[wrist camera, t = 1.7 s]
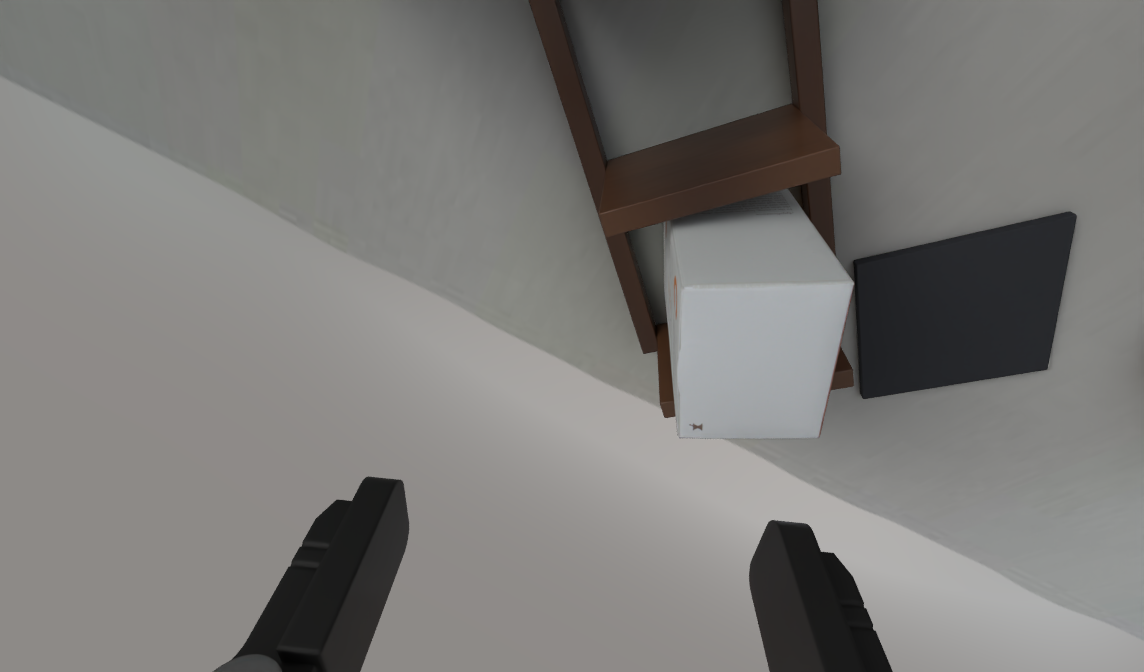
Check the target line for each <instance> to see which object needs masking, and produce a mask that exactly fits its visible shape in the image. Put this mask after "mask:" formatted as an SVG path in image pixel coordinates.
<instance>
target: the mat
mask: <svg viewBox="0 0 1144 672" xmlns="http://www.w3.org/2000/svg"><path fill="white" fill-rule="evenodd" d="M1076 217H1077V216H1076V215H1075V214H1074V213H1072V212H1065V213H1061V214H1057V215H1052V216H1048V217H1043V218H1039V219H1035V220H1030V221H1026V222H1021V223H1017V224H1013V225H1008V226H1004V227H999V228H995V229H991V230H986V231H982V232H977V233H973V234H969V235H964V236H960V237H955V238H951V239H946V240H942V241H938V242H933V243H929V244H924V245H920V246H916V247H911V248H907V249H902V250H898V251H894V252H889V253H885V254H880V255H876V256H872V257H867V258H863V259H858V260H854V278H855V297H856V317H857V336H858V355H859V375H860V394H861V396H862V398H863V399H868V398H874V397H880V396H886V395H893V394H899V393H905V392H911V391H917V390H924V389H930V388H936V387H942V386H948V385H954V384H961V383H967V382H973V381H979V380H985V379H992V378H998V377H1004V376H1010V375H1016V374H1023V373H1029V372H1035V371H1041V370H1047V369H1048V364H1049V358H1050V353H1051V348H1052V343H1053V337H1054V332H1055V327H1056V322H1057V316H1058V311H1059V306H1060V301H1061V296H1062V290H1063V285H1064V280H1065V275H1066V269H1067V264H1068V259H1069V254H1070V249H1071V243H1072V238H1073V233H1074V228H1075V222H1076Z"/></svg>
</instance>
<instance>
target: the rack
mask: <svg viewBox="0 0 1144 672" xmlns="http://www.w3.org/2000/svg"><path fill="white" fill-rule="evenodd" d="M529 3H530V6H531V9H532V12H533V15H534V18H535V21H536V25H537V28H538V31H539V34H540V37H541V40H542V43H543V46H544V49H545V52H546V55H547V58H548V62H549V65H550V68H551V71H552V74H553V77H554V80H555V83H556V86H557V89H558V92H559V95H560V99H561V102H562V105H563V108H564V111H565V114H566V117H567V120H568V123H569V126H570V129H571V132H572V136H573V139H574V142H575V145H576V148H577V151H578V154H579V157H580V160H581V163H582V166H583V169H584V173H585V176H586V179H587V182H588V185H589V188H590V191H591V194H592V197H593V200H594V203H595V206H596V210H597V213H598V216H599V219H600V222H601V225H602V228H603V231H604V234H605V237H606V240H607V243H608V247H609V250H610V253H611V256H612V259H613V262H614V265H615V268H616V271H617V274H618V277H619V280H620V284H621V287H622V290H623V293H624V296H625V299H626V302H627V305H628V308H629V311H630V314H631V317H632V321H633V324H634V327H635V330H636V333H637V336H638V339H639V342H640V345H641V348H642V351H643V354H646V353H651V352H656V351H657V353H658V374H659V395H660V405H661V409H662V412H663V415H664V417H665V418H669V417H675V404H674V393H673V382H672V370H671V356H670V343H669V331H668V322H667V323H662V324H657V325H656V324H655V320H654V317H653V313H652V310H651V307H650V303H649V300H648V297H647V293H646V290H645V287H644V283H643V280H642V276H641V273H640V270H639V266H638V263H637V260H636V256H635V253H634V250H633V246H632V243H631V239H630V236H629V233H628V231H632V230H635V229H639V228H643V227H647V226H650V225H654V224H658V223H661V222H665V221H669V220H673V219H676V218H680V217H684V216H687V215H691V214H695V213H699V212H702V211H706V210H710V209H713V208H717V207H721V206H725V205H728V204H732V203H736V202H739V201H743V200H747V199H751V198H754V197H758V196H762V195H765V194H769V193H773V192H777V191H780V190H784V189H788V188H791V187H795V186H799V185H801V190H802V200H803V210H804V212H805V214H806V215H807V217H808V218H809V220H810V221H811V222H812V224H813V225H814V226H815V228H816V229H817V231H818V232H819V234H820V235H821V236H822V238H823V239H824V241H825V242H826V243H827V245H828V246H829V248H830V249H831V251H832V252H833V253H834V255H835V256H836V253H835V239H834V225H833V211H832V197H831V183H830V177H832V176H836V175H840V174H841V161H840V147H839V145H838V144H836V143H835V142H834V141H833V140H832V139H831V138H830V137H829V136H827V127H826V113H825V99H824V85H823V71H822V57H821V43H820V29H819V15H818V1H817V0H782V5H783V15H784V25H785V35H786V44H787V54H788V64H789V74H790V83H791V93H792V103H793V104H788V105H785V106H782V107H779V108H776V109H772V110H769V111H766V112H763V113H759V114H756V115H753V116H750V117H746V118H743V119H740V120H737V121H734V122H730V123H727V124H724V125H721V126H717V127H714V128H711V129H708V130H705V131H701V132H698V133H695V134H692V135H688V136H685V137H682V138H679V139H675V140H672V141H669V142H666V143H663V144H659V145H656V146H653V147H650V148H646V149H643V150H640V151H637V152H633V153H630V154H627V155H624V156H621V157H617V158H614V159H611V160H608V161H607V159H606V155H605V152H604V149H603V145H602V142H601V139H600V135H599V132H598V129H597V125H596V122H595V118H594V115H593V112H592V108H591V105H590V102H589V98H588V95H587V92H586V88H585V85H584V81H583V78H582V75H581V71H580V68H579V65H578V61H577V58H576V55H575V51H574V48H573V44H572V41H571V38H570V34H569V31H568V28H567V24H566V21H565V18H564V14H563V11H562V7H561V4H560V1H559V0H529ZM853 386H854V379H853V369H852V367H851V365H850V363H849V361H848V359H847V357H846V356H845V354H844V352H843V350H842V348H841V346H840V351H839V355H838V358H837V363H836V368H835V372H834V376H833V381H832V386H831V390H835V389H841V388H847V387H853Z"/></svg>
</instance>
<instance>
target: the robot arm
mask: <svg viewBox="0 0 1144 672" xmlns="http://www.w3.org/2000/svg"><path fill="white" fill-rule="evenodd" d="M408 534H409V519H408V513H407V505H406V498H405V491H404V484H403V482H402V481H401V480H396V479H386V478H375V477H366V478H365V479H364V480H363V481H362V483H361V485H360V486H359V489H358V490H357V493H356V494H355V496H354V498H353V500H352V501H345V500H336V501H335V502H334V503H333V504H331V505H330V506H329V507H328V508H327V509H326V510H325V511H324V512H323V513H322V514H321V515H319V516H318V517H317V518H316V519H315V521H314V523H313V525H312V526H311V528H310V530H309V532H308V534H307V535H306V537H305V539H304V540H303V544H302V547H300V548H299V549H298V551H297V553H296V555H295V557H294V558H293V560H292V564H291V566H290V567H288V569H287V571H286V572H285V574H284V576H283V578H282V579H281V581H280V583H279V585H278V586H277V588H276V590H275V592H274V594H273V595H272V597H271V599H270V601H269V602H268V604H267V606H266V608H265V610H264V611H263V613H262V615H261V616H260V618H259V620H258V622H257V624H256V625H255V627H254V629H253V631H252V632H251V634H250V636H249V638H248V639H247V641H246V643H245V644H244V646H243V647H242V648H241V650H240V651H239V652H238V654H237V655H236V656H235V657H234V658H233V659H232V660H230V661H229V662H227V663H225V664H223V665H222V666H220V667H219V668H217V669H216V670H214V671H213V672H360V671H361V668H362V665H363V663H364V660H365V657H366V654H367V652H368V649H369V646H370V644H371V641H372V638H373V636H374V633H375V630H376V627H377V625H378V622H379V619H380V617H381V614H382V611H383V609H384V606H385V603H386V601H387V598H388V595H389V593H390V590H391V587H392V584H393V582H394V579H395V576H396V574H397V571H398V568H399V566H400V563H401V560H402V558H403V555H404V552H405V549H406V545H407V540H408ZM749 582H750V590H751V594H752V599H753V603H754V607H755V611H756V616H757V619H758V624H759V628H760V633H761V637H762V641H763V645H764V649H765V654H766V657H767V662H768V666H769V671H770V672H892V669H891V667H890V664H889V662H888V659H887V657H886V655H885V653H884V650H883V648H882V645H881V643H880V640H879V638H878V636H877V633H876V631H874V630H873V624H872V621H871V619H870V617H869V614H868V612H867V609H866V608H864V602H863V600H862V597H861V595H860V593H859V590H858V588H857V586H856V583H855V581H854V578H853V576H852V575H851V574H850V573H849V571H848V570H847V569H846V568H845V566H844V565H843V564H842V563H841V562H840V561H839V559H838V558H837V557H836V555H835V554H834V553H828V552H821V551H820V548H819V546H818V543H817V540H816V538H815V535H814V533H813V531H812V529H811V527H810V526H809V525H808V524H804V523H794V522H785V521H775V520H772V521H770V522H769V523H768V524H767V526H766V529H765V531H764V533H763V536H762V538H761V540H760V543H759V545H758V547H757V549H756V551H755V554H754V556H753V558H752V561H751V564H750V572H749Z"/></svg>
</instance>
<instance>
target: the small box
mask: <svg viewBox="0 0 1144 672" xmlns="http://www.w3.org/2000/svg"><path fill="white" fill-rule="evenodd" d="M854 285H855V283H854V282H853V280H852V279H851V278H850V276H849V275H848V273H847V272H846V270H845V269H844V268H843V266H842V265H841V263H840V262H839V261H838V259H837V258H836V256H835V255H834V253H833V252H832V251H831V249H830V248H829V246H828V245H827V243H826V242H825V241H824V239H823V238H822V236H821V235H820V234H819V232H818V231H817V229H816V228H815V226H814V225H813V224H812V222H811V221H810V220H809V218H808V217H807V215H806V214H805V212H804V211H803V210H802V208H801V207H800V205H799V204H798V203H797V201H796V200H795V198H794V197H793V195H792V194H791V193H790V191H789V190H788V189H784V190H780V191H777V192H773V193H769V194H765V195H762V196H758V197H754V198H751V199H747V200H743V201H739V202H736V203H732V204H728V205H725V206H721V207H717V208H713V209H710V210H706V211H702V212H699V213H695V214H691V215H687V216H684V217H680V218H676V219H673V220H669V221H665V222H664V293H665V303H666V313H667V321H668V331H669V343H670V356H671V370H672V382H673V393H674V404H675V416H676V426H677V435H678V437H679V438H700V439H795V438H819V436H820V434H821V429H822V425H823V421H824V416H825V411H826V407H827V403H828V399H829V394H830V390H831V386H832V381H833V376H834V372H835V368H836V363H837V358H838V355H839V351H840V346H841V342H842V336H843V333H844V328H845V324H846V319H847V315H848V310H849V306H850V302H851V297H852V293H853V288H854Z"/></svg>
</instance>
